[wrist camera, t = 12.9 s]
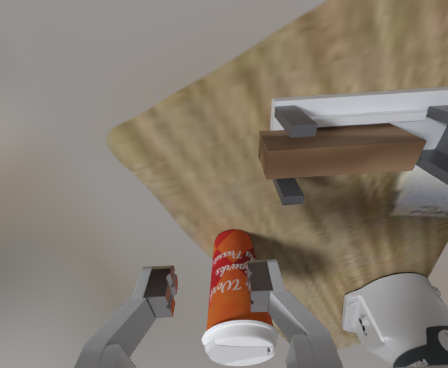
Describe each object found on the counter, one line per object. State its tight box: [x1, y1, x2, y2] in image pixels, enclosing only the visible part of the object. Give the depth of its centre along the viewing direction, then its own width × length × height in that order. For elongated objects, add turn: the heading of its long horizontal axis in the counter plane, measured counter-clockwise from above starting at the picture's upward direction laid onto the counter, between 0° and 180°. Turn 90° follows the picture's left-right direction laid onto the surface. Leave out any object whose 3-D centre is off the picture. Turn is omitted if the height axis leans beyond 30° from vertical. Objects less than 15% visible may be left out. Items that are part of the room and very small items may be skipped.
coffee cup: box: [202, 230, 278, 366], centre depth 29 cm, size 8×8×15 cm
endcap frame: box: [270, 87, 448, 205], centre depth 22 cm, size 9×20×9 cm, turn 93°
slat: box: [258, 123, 427, 179], centre depth 22 cm, size 3×14×5 cm, turn 93°
